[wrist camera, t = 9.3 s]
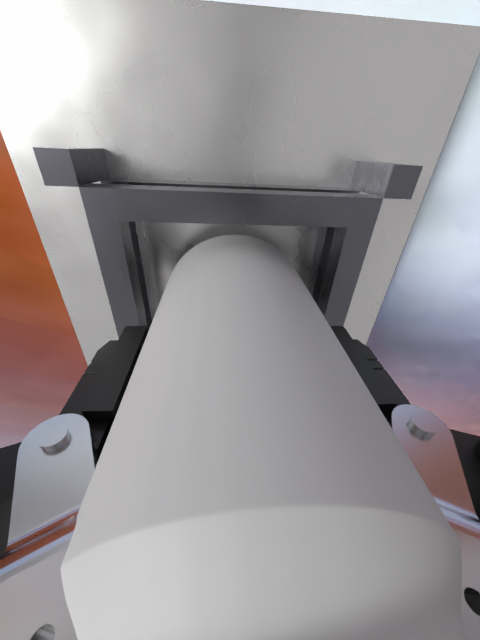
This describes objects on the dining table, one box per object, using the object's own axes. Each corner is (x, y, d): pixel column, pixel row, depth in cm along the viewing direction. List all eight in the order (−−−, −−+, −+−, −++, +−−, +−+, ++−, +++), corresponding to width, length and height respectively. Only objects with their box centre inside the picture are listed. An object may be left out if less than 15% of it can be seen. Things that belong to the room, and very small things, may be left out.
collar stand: (-29, -7, 8) (-181, -102, 5) (465, 37, 10) (586, -16, 7) (111, 405, 19) (91, 456, 16) (335, 399, 21) (356, 445, 17)
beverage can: (313, 313, 14) (532, 707, 4) (210, 359, 16) (195, 740, 6) (265, 201, 11) (739, 773, 1) (140, 271, 12) (-204, 816, 2)
